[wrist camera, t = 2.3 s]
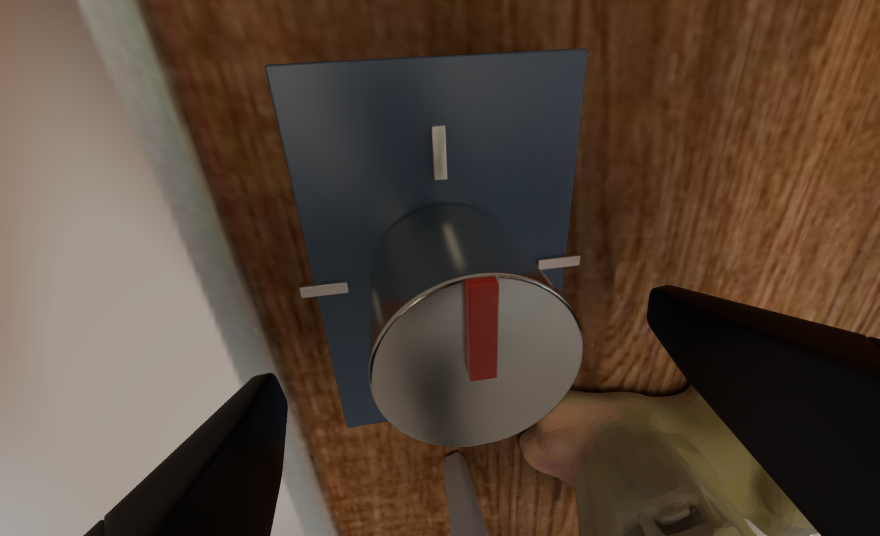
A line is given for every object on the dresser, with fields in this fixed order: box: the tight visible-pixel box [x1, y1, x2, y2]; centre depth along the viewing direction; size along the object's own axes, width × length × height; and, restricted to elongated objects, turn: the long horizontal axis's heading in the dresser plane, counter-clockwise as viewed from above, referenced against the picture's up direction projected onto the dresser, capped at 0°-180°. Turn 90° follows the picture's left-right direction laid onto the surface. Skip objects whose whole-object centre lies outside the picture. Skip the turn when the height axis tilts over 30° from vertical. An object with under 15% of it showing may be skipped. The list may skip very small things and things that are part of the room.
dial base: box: [265, 48, 588, 428], centre depth 13 cm, size 12×9×3 cm
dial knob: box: [368, 204, 584, 447], centre depth 10 cm, size 5×5×5 cm
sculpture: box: [519, 385, 818, 536], centre depth 17 cm, size 15×8×10 cm, turn 98°
